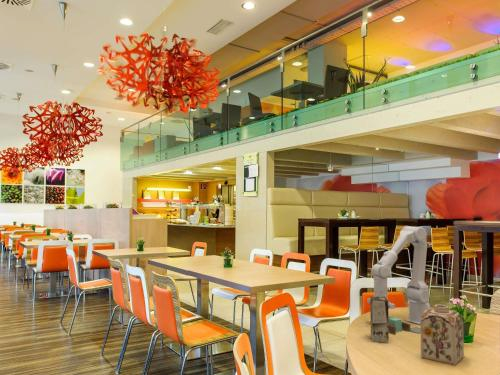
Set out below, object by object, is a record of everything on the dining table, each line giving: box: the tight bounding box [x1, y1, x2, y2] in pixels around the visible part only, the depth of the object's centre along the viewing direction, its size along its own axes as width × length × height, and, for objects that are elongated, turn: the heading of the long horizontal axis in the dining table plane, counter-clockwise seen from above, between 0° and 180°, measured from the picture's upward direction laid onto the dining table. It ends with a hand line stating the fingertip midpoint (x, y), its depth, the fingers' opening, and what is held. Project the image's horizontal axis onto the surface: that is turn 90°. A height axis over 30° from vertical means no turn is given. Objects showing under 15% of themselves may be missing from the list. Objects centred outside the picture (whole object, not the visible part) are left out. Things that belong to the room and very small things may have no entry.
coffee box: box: [369, 296, 390, 344], centre depth 172 cm, size 9×6×16 cm
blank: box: [388, 316, 403, 333], centre depth 184 cm, size 4×5×5 cm
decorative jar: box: [420, 304, 465, 366], centre depth 151 cm, size 12×12×18 cm
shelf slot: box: [388, 321, 411, 335], centre depth 184 cm, size 10×9×3 cm
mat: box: [409, 326, 421, 335], centre depth 184 cm, size 7×7×1 cm
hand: (380, 321), depth 191 cm, fingers closed
